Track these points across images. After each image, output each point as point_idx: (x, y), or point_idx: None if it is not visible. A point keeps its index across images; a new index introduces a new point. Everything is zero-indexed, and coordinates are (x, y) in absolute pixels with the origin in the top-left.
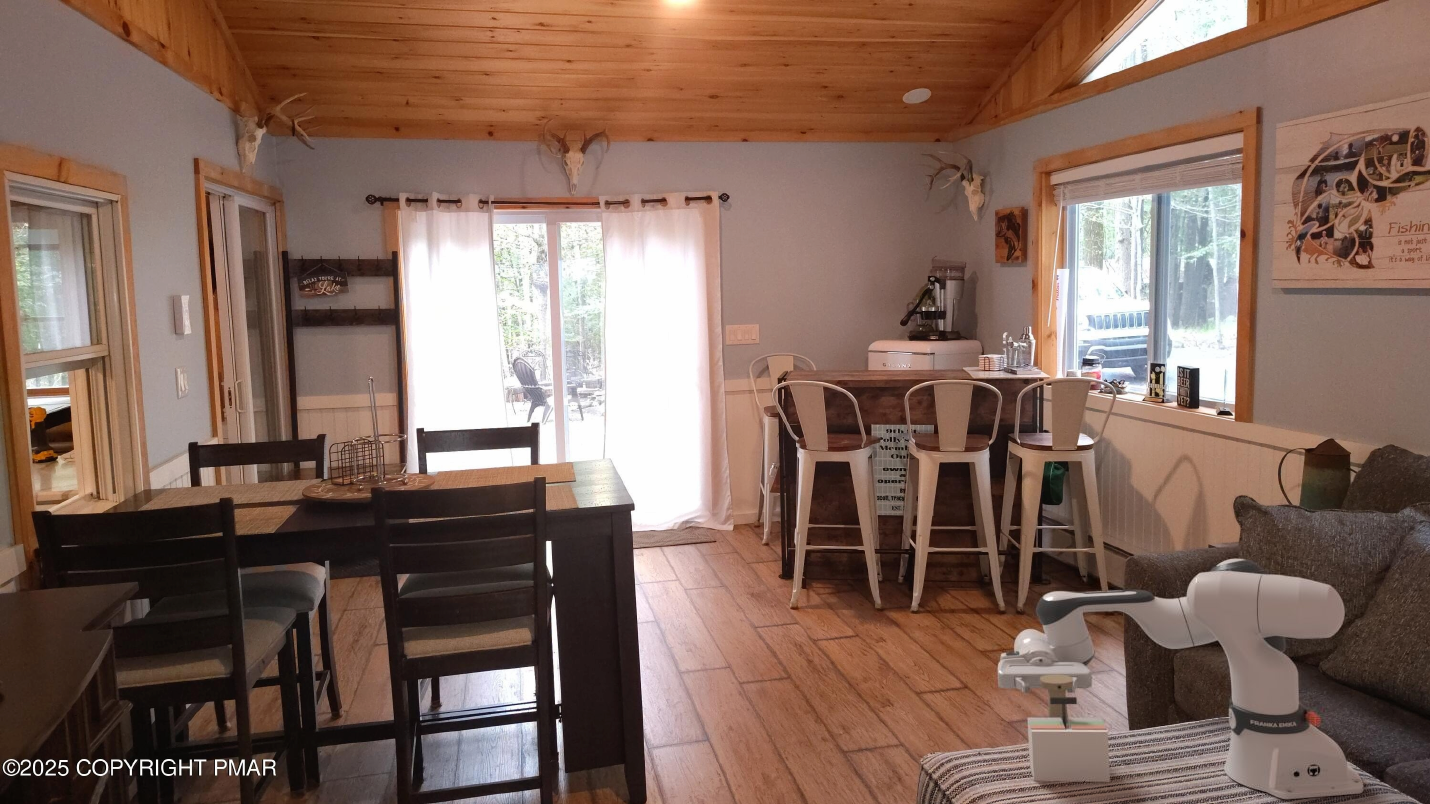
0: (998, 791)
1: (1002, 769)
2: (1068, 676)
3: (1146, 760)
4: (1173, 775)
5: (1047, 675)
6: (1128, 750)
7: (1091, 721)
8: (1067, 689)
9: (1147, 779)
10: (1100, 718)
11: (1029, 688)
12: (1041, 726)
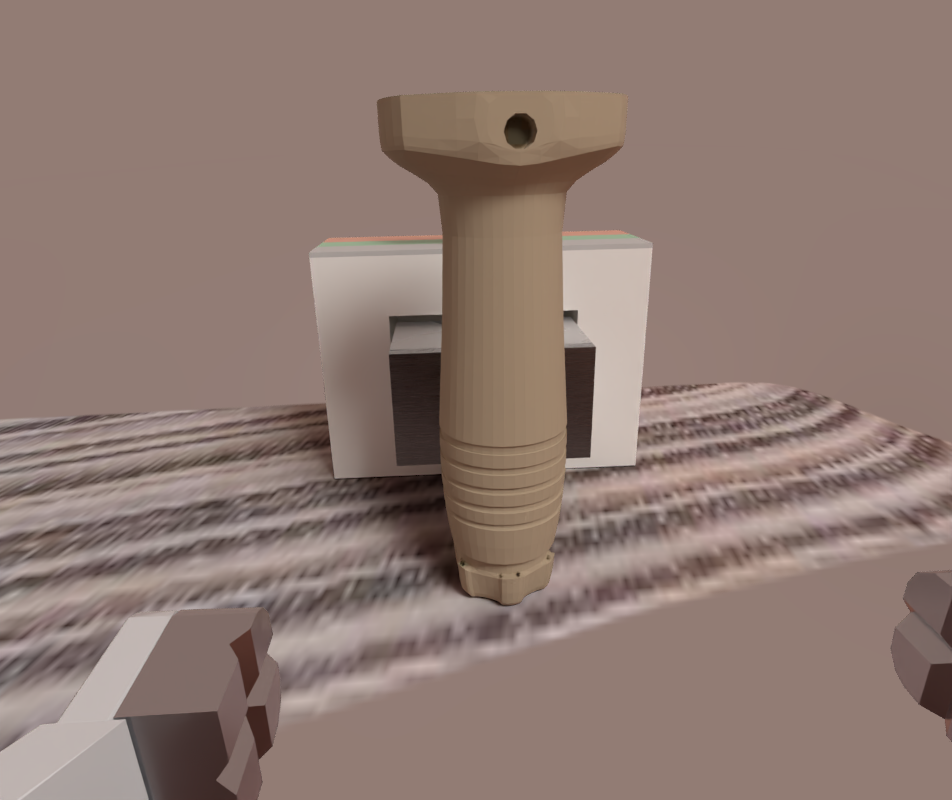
0: (699, 386)
1: (736, 448)
2: (397, 97)
3: (102, 526)
4: (93, 462)
5: (572, 92)
6: (111, 592)
7: (367, 245)
8: (267, 694)
9: (211, 442)
10: (316, 250)
11: (905, 594)
12: (581, 233)
